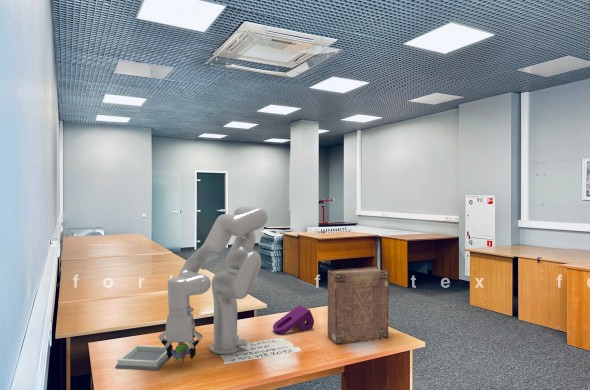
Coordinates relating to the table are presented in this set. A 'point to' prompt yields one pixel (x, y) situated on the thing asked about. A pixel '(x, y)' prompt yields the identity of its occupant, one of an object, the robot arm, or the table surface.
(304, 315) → the mounting bracket
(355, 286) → the book
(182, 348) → the geometric puzzle
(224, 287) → the robot arm
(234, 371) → the table surface
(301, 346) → the table surface
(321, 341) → the table surface
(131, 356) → the shallow square tray
